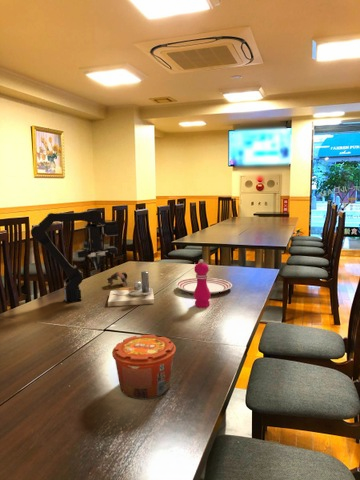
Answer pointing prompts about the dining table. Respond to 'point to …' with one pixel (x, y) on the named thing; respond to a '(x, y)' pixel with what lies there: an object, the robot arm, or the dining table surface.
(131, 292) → the shiny grey rounded pieces
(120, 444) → the dining table surface
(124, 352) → the food container
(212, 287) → the dinner plate
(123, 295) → the stand
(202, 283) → the pepper mill
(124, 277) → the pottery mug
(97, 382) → the dining table surface
